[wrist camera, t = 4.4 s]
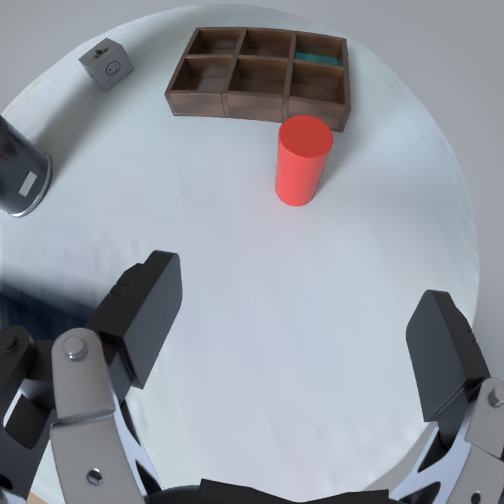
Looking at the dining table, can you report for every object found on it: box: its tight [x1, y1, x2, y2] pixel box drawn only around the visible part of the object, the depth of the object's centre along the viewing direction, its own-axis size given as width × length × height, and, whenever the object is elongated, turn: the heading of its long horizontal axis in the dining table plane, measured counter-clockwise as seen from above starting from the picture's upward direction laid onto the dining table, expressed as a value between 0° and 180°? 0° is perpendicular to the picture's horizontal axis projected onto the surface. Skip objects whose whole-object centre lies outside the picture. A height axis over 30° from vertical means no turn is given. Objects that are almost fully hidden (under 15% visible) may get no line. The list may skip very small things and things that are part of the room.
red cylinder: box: [276, 115, 333, 206], centre depth 24 cm, size 4×4×9 cm
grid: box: [164, 27, 351, 132], centre depth 29 cm, size 19×13×4 cm
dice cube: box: [78, 38, 134, 91], centre depth 31 cm, size 5×5×5 cm
